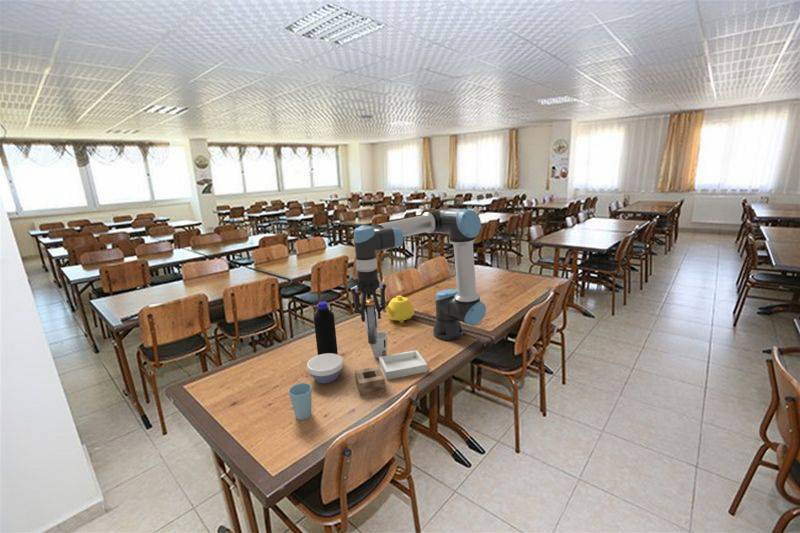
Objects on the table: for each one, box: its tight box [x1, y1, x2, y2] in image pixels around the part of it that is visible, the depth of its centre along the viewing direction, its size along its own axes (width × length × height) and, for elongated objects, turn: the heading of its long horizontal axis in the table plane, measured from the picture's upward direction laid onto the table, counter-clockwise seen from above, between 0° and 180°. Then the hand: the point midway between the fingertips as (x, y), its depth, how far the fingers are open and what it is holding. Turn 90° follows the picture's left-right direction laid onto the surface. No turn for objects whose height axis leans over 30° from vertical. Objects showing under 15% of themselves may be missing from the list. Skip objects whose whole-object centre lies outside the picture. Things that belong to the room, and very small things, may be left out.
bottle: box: [313, 300, 339, 355], centre depth 165 cm, size 9×9×28 cm
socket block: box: [354, 365, 386, 396], centre depth 147 cm, size 10×10×5 cm
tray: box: [378, 349, 428, 380], centre depth 159 cm, size 18×14×3 cm
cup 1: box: [288, 382, 312, 421], centre depth 130 cm, size 8×8×10 cm
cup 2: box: [370, 331, 388, 359], centre depth 170 cm, size 8×8×10 cm
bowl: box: [306, 353, 344, 384], centre depth 154 cm, size 14×14×8 cm
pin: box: [365, 298, 378, 345], centre depth 143 cm, size 5×5×17 cm
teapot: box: [384, 295, 415, 324], centre depth 209 cm, size 20×16×14 cm
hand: (371, 327), depth 143 cm, fingers closed on pin, 3 cm apart
